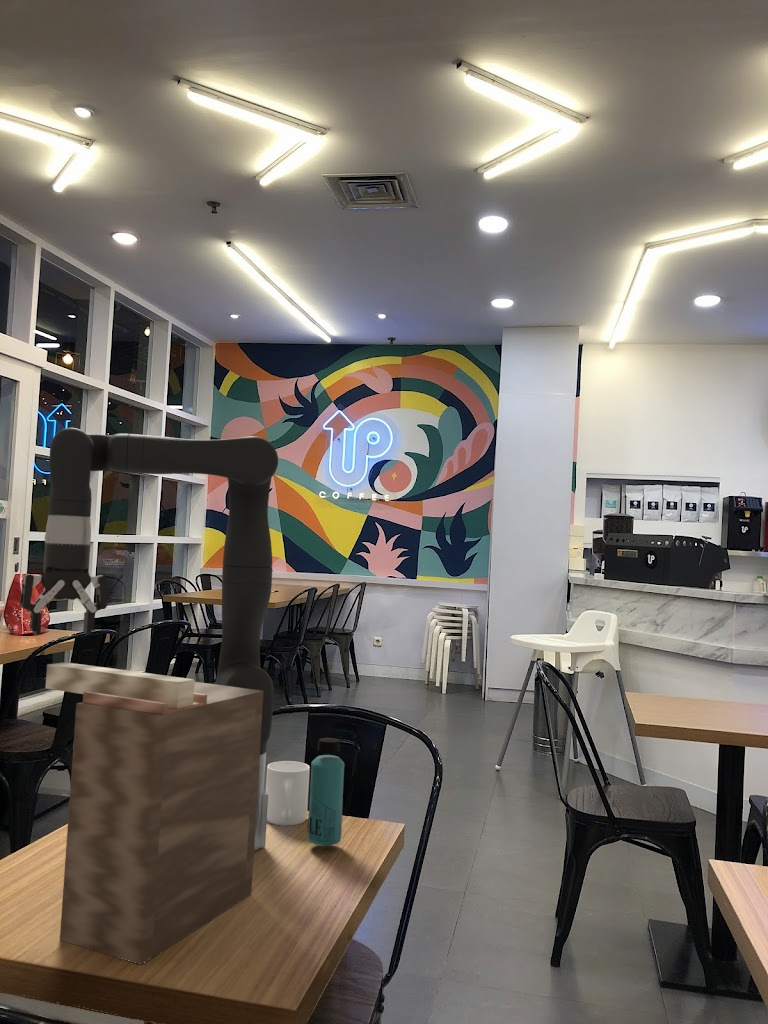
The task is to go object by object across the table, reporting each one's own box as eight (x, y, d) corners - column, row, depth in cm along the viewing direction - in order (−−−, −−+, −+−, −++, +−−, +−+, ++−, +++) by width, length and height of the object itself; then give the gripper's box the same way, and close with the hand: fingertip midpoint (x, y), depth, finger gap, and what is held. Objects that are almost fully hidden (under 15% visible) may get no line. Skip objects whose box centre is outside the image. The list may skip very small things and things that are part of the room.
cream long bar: (45, 688, 124) (47, 664, 124) (63, 685, 127) (65, 662, 127) (177, 708, 114) (178, 682, 114) (193, 704, 117) (194, 679, 117)
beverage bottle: (346, 845, 157) (352, 737, 158) (332, 856, 150) (338, 744, 151) (314, 839, 159) (320, 733, 160) (299, 850, 153) (306, 740, 154)
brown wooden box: (59, 939, 114) (77, 693, 116) (179, 876, 138) (192, 672, 139) (141, 965, 108) (158, 705, 110) (251, 894, 132) (263, 681, 134)
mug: (263, 832, 162) (266, 775, 162) (264, 812, 174) (267, 760, 174) (307, 832, 163) (310, 776, 163) (306, 813, 175) (309, 761, 175)
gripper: (30, 540, 141) (24, 637, 140) (115, 544, 149) (109, 635, 148) (20, 539, 147) (14, 632, 146) (101, 543, 155) (96, 631, 154)
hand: (62, 634), depth 147 cm, fingers open, 8 cm apart
